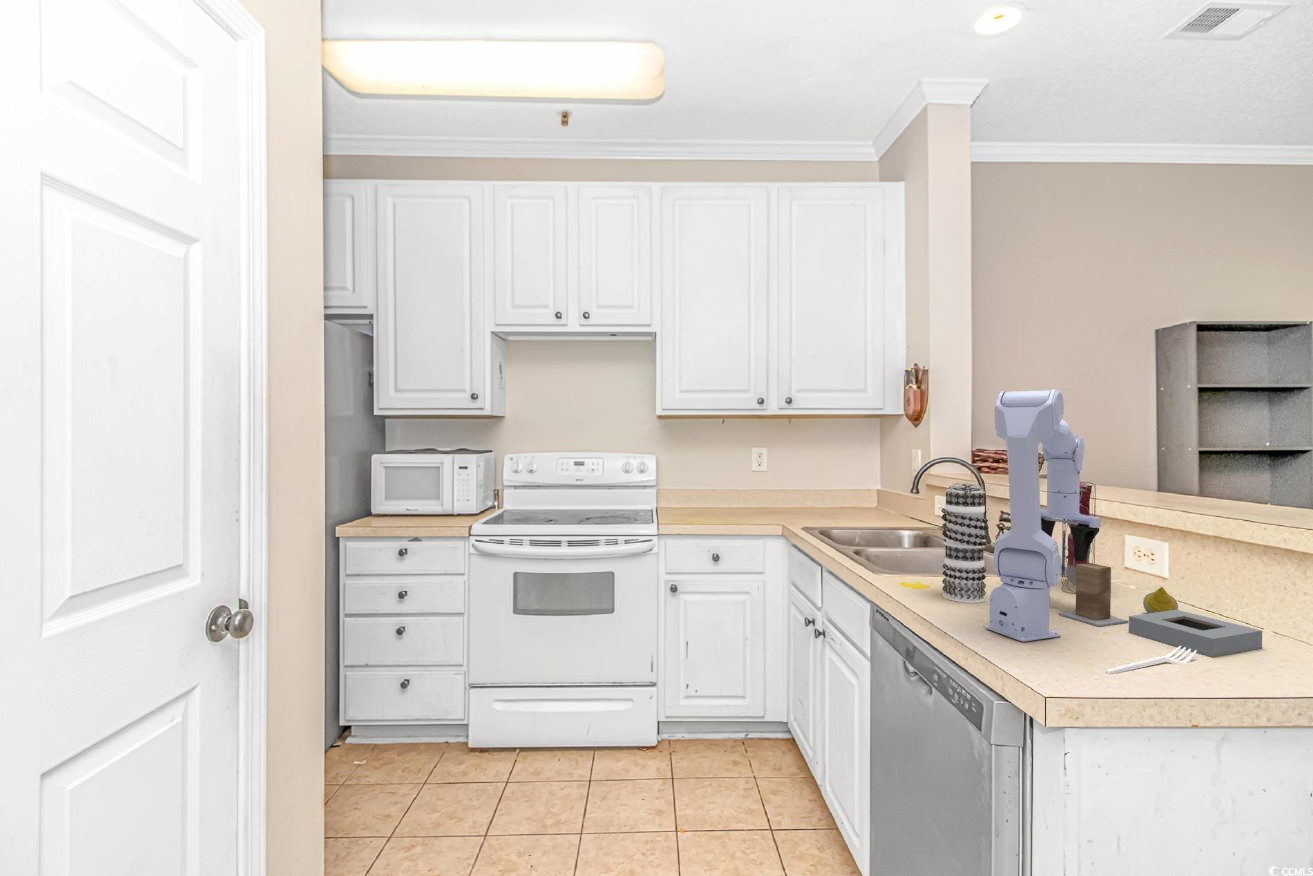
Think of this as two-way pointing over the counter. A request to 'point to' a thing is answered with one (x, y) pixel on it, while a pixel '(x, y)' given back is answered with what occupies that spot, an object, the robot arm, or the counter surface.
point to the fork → (1155, 661)
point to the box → (1085, 510)
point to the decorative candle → (964, 543)
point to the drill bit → (1159, 601)
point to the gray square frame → (1196, 632)
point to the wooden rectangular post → (1093, 591)
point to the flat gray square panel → (1096, 623)
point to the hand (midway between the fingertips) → (1062, 557)
